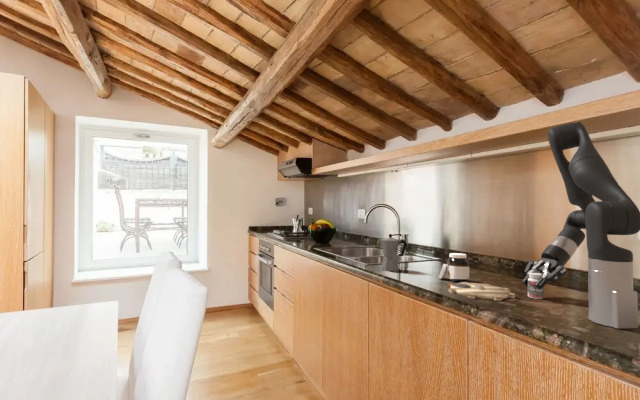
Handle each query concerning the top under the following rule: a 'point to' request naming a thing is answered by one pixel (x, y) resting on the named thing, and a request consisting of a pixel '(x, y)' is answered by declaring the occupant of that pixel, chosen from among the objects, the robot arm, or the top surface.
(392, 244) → the coffeepot
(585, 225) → the robot arm
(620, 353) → the top surface
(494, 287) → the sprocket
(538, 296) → the pill bottle
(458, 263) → the spread jar
